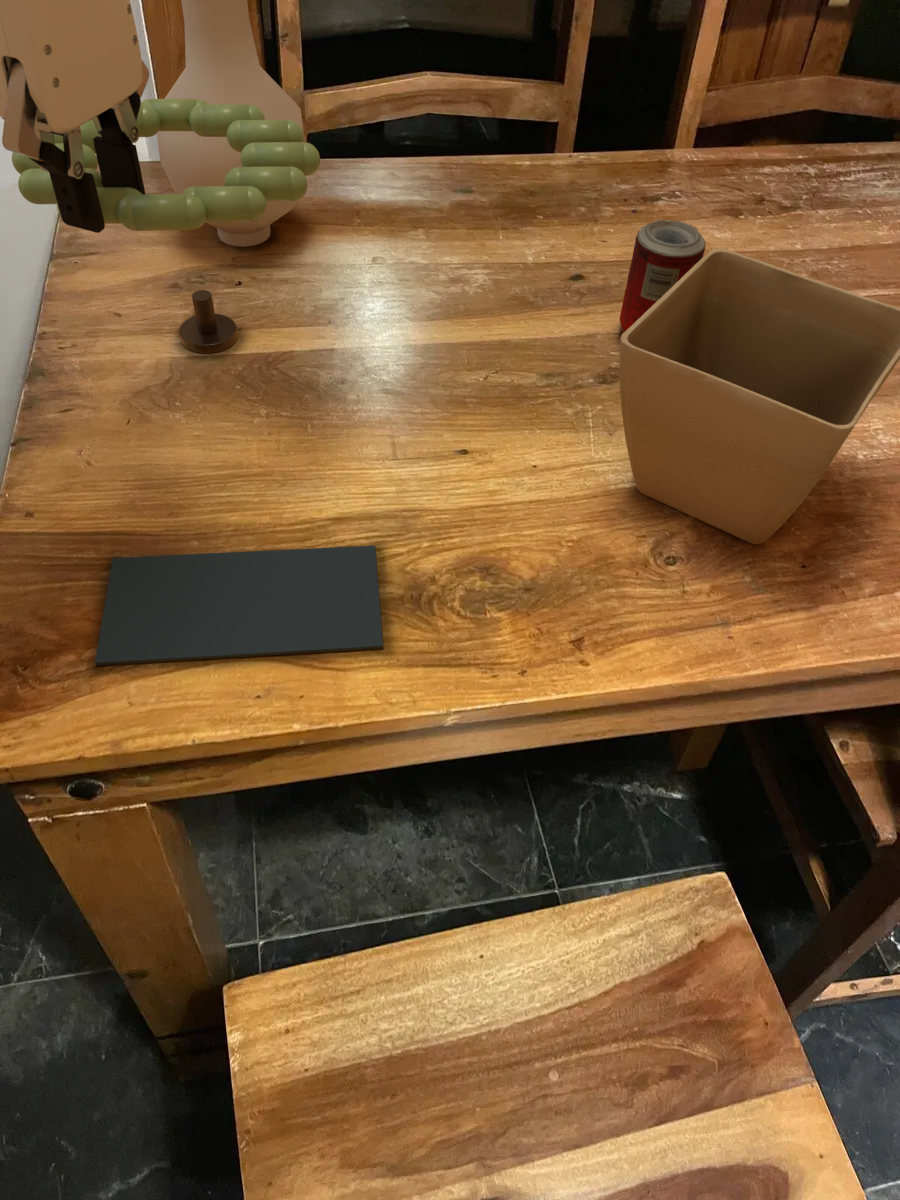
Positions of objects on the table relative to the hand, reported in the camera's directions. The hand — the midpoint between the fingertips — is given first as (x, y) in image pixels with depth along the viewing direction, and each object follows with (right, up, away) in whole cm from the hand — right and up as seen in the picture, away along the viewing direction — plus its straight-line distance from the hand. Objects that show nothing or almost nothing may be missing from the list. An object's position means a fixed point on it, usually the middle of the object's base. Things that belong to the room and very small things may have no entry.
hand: (105, 209), depth 67 cm
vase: (0, +17, +47) cm, 50 cm away
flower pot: (+50, -17, +21) cm, 57 cm away
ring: (+3, +6, +5) cm, 9 cm away
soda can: (+47, +1, +37) cm, 60 cm away
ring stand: (-1, 0, +33) cm, 33 cm away
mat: (+8, -28, +9) cm, 31 cm away
